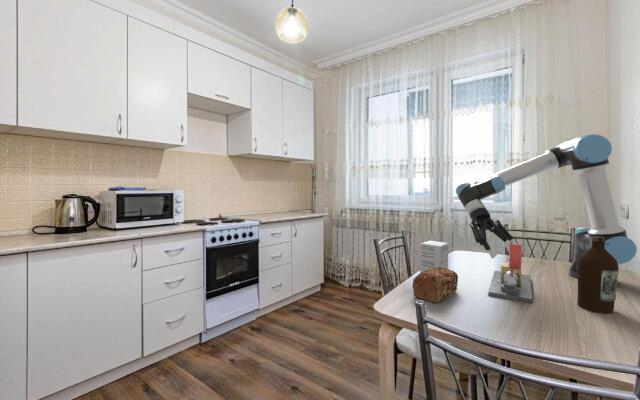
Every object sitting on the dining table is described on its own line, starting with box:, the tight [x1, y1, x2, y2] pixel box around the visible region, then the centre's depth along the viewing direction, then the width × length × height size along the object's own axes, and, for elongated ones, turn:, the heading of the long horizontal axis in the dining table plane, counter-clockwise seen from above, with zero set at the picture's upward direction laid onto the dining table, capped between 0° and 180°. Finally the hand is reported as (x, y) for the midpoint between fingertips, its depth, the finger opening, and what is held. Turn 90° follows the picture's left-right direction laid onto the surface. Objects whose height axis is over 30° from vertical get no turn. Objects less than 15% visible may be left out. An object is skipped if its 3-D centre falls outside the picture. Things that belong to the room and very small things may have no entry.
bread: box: [412, 267, 459, 304], centre depth 119 cm, size 19×11×10 cm, turn 134°
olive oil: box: [577, 236, 620, 314], centre depth 106 cm, size 11×11×25 cm
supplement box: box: [419, 240, 449, 274], centre depth 137 cm, size 10×9×17 cm
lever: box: [506, 243, 523, 270], centre depth 122 cm, size 16×4×9 cm, turn 153°
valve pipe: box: [487, 261, 533, 304], centre depth 128 cm, size 34×14×11 cm, turn 146°
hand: (504, 255), depth 121 cm, fingers open, 9 cm apart
